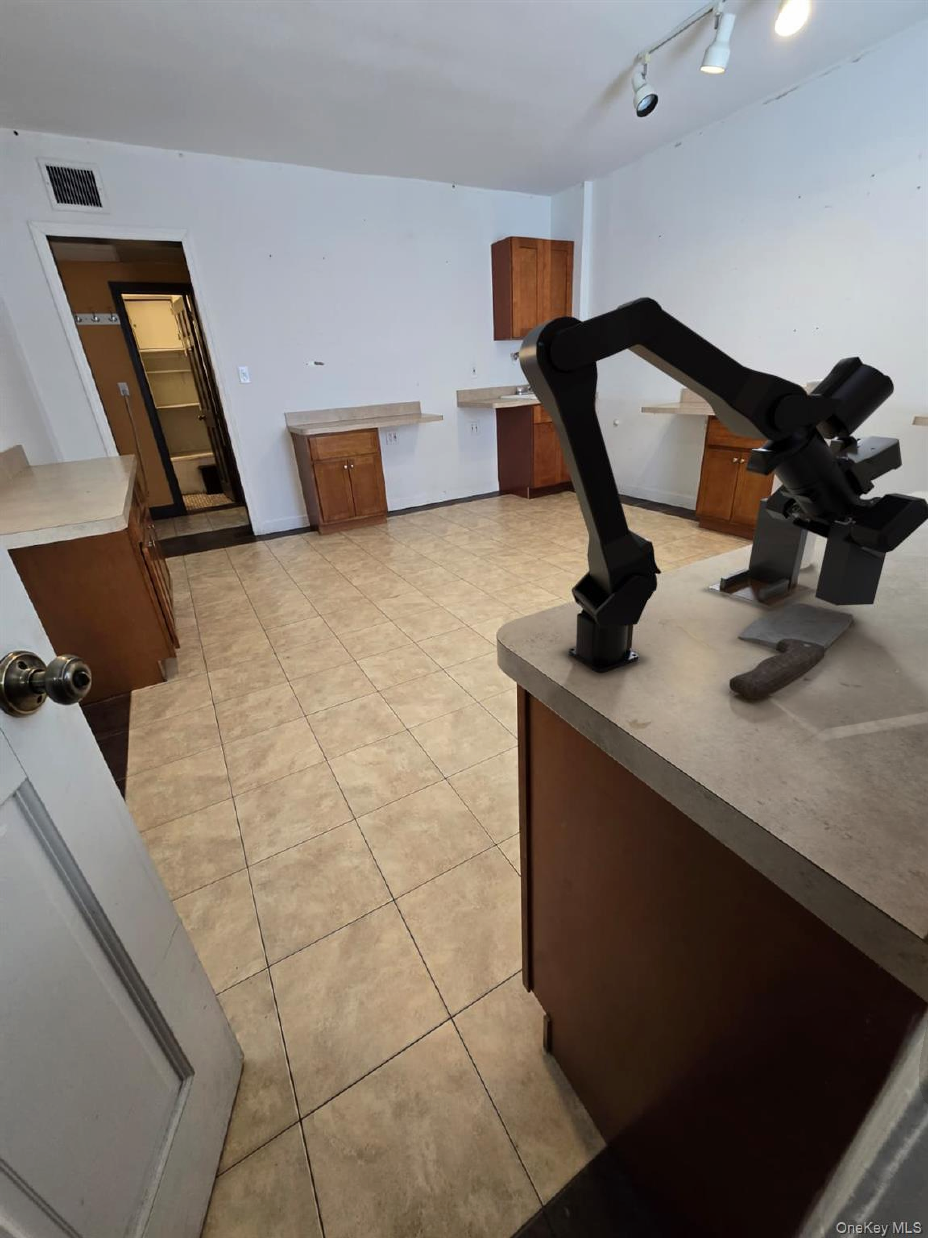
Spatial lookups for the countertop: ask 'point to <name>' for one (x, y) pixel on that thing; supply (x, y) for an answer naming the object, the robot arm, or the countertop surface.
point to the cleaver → (789, 645)
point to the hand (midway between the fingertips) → (867, 549)
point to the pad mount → (769, 562)
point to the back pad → (847, 571)
